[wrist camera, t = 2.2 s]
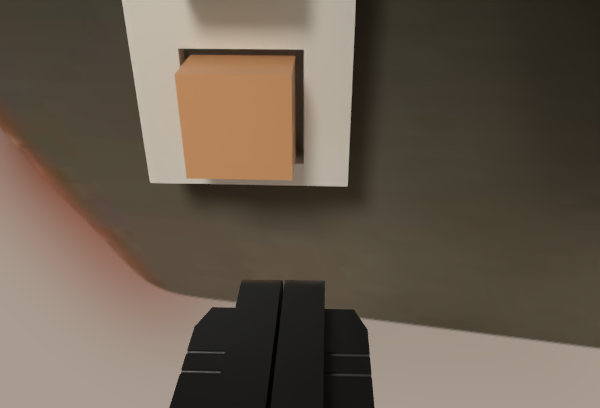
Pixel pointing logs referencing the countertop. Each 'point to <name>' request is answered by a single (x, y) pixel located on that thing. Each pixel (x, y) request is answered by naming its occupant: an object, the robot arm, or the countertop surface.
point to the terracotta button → (238, 116)
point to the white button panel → (247, 41)
